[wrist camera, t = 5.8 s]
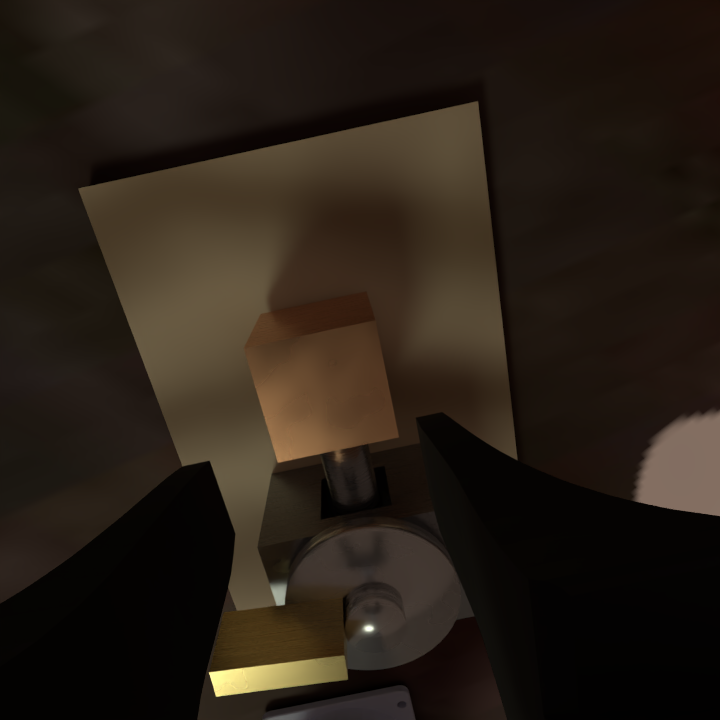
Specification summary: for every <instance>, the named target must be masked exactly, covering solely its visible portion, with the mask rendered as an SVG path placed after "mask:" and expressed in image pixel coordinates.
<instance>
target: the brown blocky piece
mask: <svg viewBox="0 0 720 720" xmlns="http://www.w3.org/2000/svg"><path fill="white" fill-rule="evenodd" d="M244 351H245V354H246V358H247V361H248V364H249V368H250V371H251V374H252V378H253V381H254V384H255V388H256V391H257V394H258V398H259V401H260V404H261V408H262V411H263V414H264V418H265V421H266V424H267V428H268V431H269V434H270V438H271V441H272V444H273V448H274V451H275V454H276V458H277V461H278V463H279V462H283V461H288V460H293V459H298V458H303V457H307V456H312V455H317V454H320V456H321V460H322V464H323V468H324V471H325V475H326V479H327V483H328V487H329V490H330V494H331V498H332V502H333V505H334V509H335V513H336V516H341V515H346V514H351V513H356V512H360V511H365V510H370V509H375V508H380V507H382V504H381V499H380V495H379V490H378V486H377V481H376V477H375V472H374V468H373V464H372V459H371V455H370V450H369V446H368V444H370V443H375V442H380V441H384V440H389V439H394V438H399V435H398V430H397V425H396V420H395V415H394V410H393V405H392V400H391V395H390V390H389V385H388V380H387V375H386V370H385V365H384V360H383V355H382V350H381V345H380V340H379V335H378V330H377V325H376V320H375V317H374V314H373V310H372V307H371V304H370V301H369V298H368V295H367V291H365V292H361V293H356V294H351V295H347V296H342V297H337V298H333V299H328V300H323V301H319V302H314V303H309V304H305V305H300V306H295V307H290V308H286V309H281V310H276V311H272V312H267V313H262V314H260V316H259V318H258V320H257V322H256V324H255V326H254V328H253V330H252V332H251V334H250V336H249V338H248V340H247V342H246V344H245V346H244Z"/></svg>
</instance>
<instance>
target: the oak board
mask: <svg viewBox="0 0 720 720" xmlns="http://www.w3.org/2000/svg"><path fill="white" fill-rule="evenodd" d="M79 192H80V195H81V197H82V200H83V203H84V205H85V208H86V211H87V213H88V216H89V219H90V221H91V224H92V227H93V229H94V232H95V235H96V237H97V240H98V243H99V245H100V248H101V251H102V253H103V256H104V259H105V261H106V264H107V267H108V269H109V272H110V274H111V277H112V280H113V282H114V285H115V288H116V290H117V293H118V296H119V298H120V301H121V304H122V306H123V309H124V312H125V314H126V317H127V320H128V322H129V325H130V328H131V330H132V333H133V336H134V338H135V341H136V344H137V346H138V349H139V352H140V354H141V357H142V360H143V362H144V365H145V367H146V370H147V373H148V375H149V378H150V381H151V383H152V386H153V389H154V391H155V394H156V397H157V399H158V402H159V405H160V407H161V410H162V413H163V415H164V418H165V421H166V423H167V426H168V429H169V431H170V434H171V437H172V439H173V442H174V445H175V447H176V450H177V453H178V455H179V458H180V461H181V463H182V466H186V465H191V464H196V463H200V462H205V461H210V463H211V466H212V468H213V471H214V474H215V477H216V480H217V483H218V485H219V488H220V491H221V494H222V497H223V500H224V502H225V505H226V508H227V511H228V514H229V517H230V519H231V522H232V525H233V528H234V531H235V534H236V535H235V545H234V556H233V564H232V572H231V577H230V581H229V586H228V588H229V591H230V593H231V596H232V599H233V601H234V604H235V607H236V609H237V611H239V610H247V609H255V608H263V607H269V606H274V605H277V604H276V601H275V598H274V595H273V593H272V590H271V587H270V584H269V581H268V578H267V575H266V572H265V569H264V566H263V563H262V560H261V557H260V554H259V551H258V548H257V546H258V541H259V536H260V531H261V525H262V520H263V515H264V510H265V505H266V500H267V495H268V489H269V484H270V479H271V474H273V473H278V472H283V471H287V470H292V469H297V468H302V467H307V466H311V465H316V464H321V463H322V460H321V456H320V454H317V455H312V456H307V457H303V458H298V459H293V460H288V461H283V462H279V463H278V461H277V458H276V454H275V451H274V448H273V444H272V441H271V438H270V434H269V431H268V428H267V424H266V421H265V418H264V414H263V411H262V408H261V404H260V401H259V398H258V394H257V391H256V388H255V384H254V381H253V378H252V374H251V371H250V368H249V364H248V361H247V358H246V354H245V351H244V346H245V344H246V342H247V340H248V338H249V336H250V334H251V332H252V330H253V328H254V326H255V324H256V322H257V320H258V318H259V316H260V314H262V313H267V312H272V311H276V310H281V309H286V308H290V307H295V306H300V305H305V304H309V303H314V302H319V301H323V300H328V299H333V298H337V297H342V296H347V295H351V294H356V293H361V292H365V291H367V295H368V298H369V301H370V304H371V307H372V310H373V314H374V317H375V320H376V325H377V330H378V335H379V340H380V345H381V350H382V355H383V360H384V365H385V370H386V375H387V380H388V385H389V390H390V395H391V400H392V405H393V410H394V415H395V420H396V425H397V430H398V435H399V438H394V439H389V440H384V441H380V442H375V443H370V444H368V446H369V450H370V453H374V452H379V451H384V450H388V449H393V448H398V447H403V446H408V445H413V444H417V443H420V440H419V434H418V429H417V424H416V417H421V416H426V415H430V414H435V413H440V412H443V413H444V414H446V415H447V416H449V417H450V418H452V419H453V420H454V421H456V422H457V423H458V424H460V425H461V426H462V427H464V428H465V429H467V430H468V431H470V432H471V433H472V434H474V435H475V436H477V437H478V438H480V439H481V440H483V441H484V442H486V443H488V444H489V445H491V446H492V447H494V448H496V449H497V450H499V451H501V452H503V453H504V454H506V455H508V456H510V457H512V458H514V459H516V460H517V451H516V442H515V432H514V423H513V414H512V405H511V396H510V387H509V378H508V369H507V360H506V351H505V342H504V333H503V324H502V314H501V305H500V296H499V287H498V278H497V269H496V260H495V251H494V242H493V233H492V224H491V215H490V206H489V196H488V187H487V178H486V169H485V160H484V151H483V142H482V133H481V124H480V115H479V106H478V101H477V102H472V103H468V104H463V105H458V106H454V107H449V108H445V109H440V110H436V111H431V112H426V113H422V114H417V115H413V116H408V117H404V118H399V119H394V120H390V121H385V122H381V123H376V124H372V125H367V126H362V127H358V128H353V129H349V130H344V131H340V132H335V133H330V134H326V135H321V136H317V137H312V138H308V139H303V140H298V141H294V142H289V143H285V144H280V145H276V146H271V147H266V148H262V149H257V150H253V151H248V152H243V153H239V154H234V155H230V156H225V157H221V158H216V159H211V160H207V161H202V162H198V163H193V164H189V165H184V166H179V167H175V168H170V169H166V170H161V171H157V172H152V173H147V174H143V175H138V176H134V177H129V178H125V179H120V180H115V181H111V182H106V183H102V184H97V185H93V186H88V187H83V188H79Z"/></svg>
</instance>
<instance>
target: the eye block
mask: <svg viewBox="0 0 720 720" xmlns="http://www.w3.org/2000/svg"><path fill="white" fill-rule="evenodd" d="M370 455H371V459H372V464H373V468H374V472H375V477H376V481H377V486H378V490H379V495H380V499H381V504H382V507H380V508H375V509H370V510H365V511H360V512H356V513H351V514H346V515H341V516H336V513H335V509H334V505H333V502H332V498H331V494H330V490H329V487H328V483H327V479H326V475H325V471H324V468H323V464H322V463H321V464H316V465H311V466H307V467H302V468H297V469H292V470H287V471H283V472H278V473H273V474H271V479H270V484H269V489H268V495H267V500H266V505H265V510H264V515H263V520H262V525H261V531H260V536H259V541H258V546H257V548H258V551H259V554H260V557H261V560H262V563H263V566H264V569H265V572H266V575H267V578H268V581H269V584H270V587H271V590H272V593H273V595H274V598H275V601H276V604H277V606H279V605H285V594H286V585H287V578H288V573H289V570H290V568H291V565H292V563H293V561H294V559H295V557H296V556H297V554H298V553H299V552H300V550H301V549H302V548H303V547H304V546H305V545H306V544H307V543H308V542H309V541H310V540H311V539H312V538H313V537H315V536H316V535H318V534H319V533H320V532H322V531H324V530H326V529H327V528H329V527H331V526H334V525H336V524H338V523H341V522H344V521H348V520H351V519H357V518H362V517H389V518H396V519H400V520H404V521H408V522H410V523H413V524H415V525H418V526H420V527H421V528H423V529H425V530H427V531H428V532H429V533H431V534H432V535H433V536H435V537H436V538H437V539H438V540H439V541H440V542H441V543H442V544H443V546H444V547H445V549H446V550H447V548H446V545H445V543H444V540H443V538H442V535H441V533H440V530H439V526H438V523H437V519H436V516H435V512H434V509H433V505H432V501H431V498H430V494H429V489H428V483H427V478H426V472H425V467H424V461H423V456H422V451H421V445H420V443H417V444H413V445H408V446H403V447H398V448H393V449H388V450H384V451H379V452H374V453H370ZM447 551H448V550H447ZM454 568H455V567H454ZM455 572H456V570H455ZM456 575H457V572H456ZM457 578H458V581H459V584H460V591H461V604H460V609H459V613H458V616H457V618H456V620H458V619H463V618H468V617H473V616H474V613H473V611H472V608H471V606H470V604H469V601H468V599H467V596H466V594H465V592H464V589H463V587H462V584H461V582H460V579H459V577H458V575H457Z"/></svg>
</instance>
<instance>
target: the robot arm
mask: <svg viewBox="0 0 720 720" xmlns="http://www.w3.org/2000/svg"><path fill="white" fill-rule="evenodd" d="M416 424H417V429H418V434H419V440H420V445H421V451H422V456H423V461H424V467H425V472H426V478H427V483H428V489H429V494H430V498H431V501H432V505H433V509H434V512H435V516H436V519H437V523H438V526H439V530H440V533H441V535H442V538H443V540H444V543H445V545H446V548H447V550H448V553H449V555H450V558H451V560H452V562H453V565H454V567H455V570H456V572H457V575H458V577H459V579H460V582H461V584H462V587H463V589H464V592H465V594H466V596H467V599H468V601H469V604H470V606H471V608H472V611H473V613H474V616H475V618H476V621H477V624H478V626H479V629H480V632H481V635H482V637H483V640H484V644H485V647H486V650H487V654H488V657H489V660H490V663H491V667H492V670H493V673H494V677H495V680H496V683H497V686H498V690H499V693H500V696H501V700H502V703H503V707H504V710H505V713H506V717H507V720H720V516H715V515H708V514H701V513H694V512H686V511H680V510H673V509H667V508H662V507H658V506H653V505H648V504H644V503H639V502H634V501H630V500H626V499H622V498H618V497H614V496H610V495H607V494H603V493H600V492H597V491H594V490H590V489H587V488H584V487H581V486H577V485H575V484H572V483H569V482H566V481H563V480H561V479H558V478H556V477H553V476H551V475H548V474H546V473H544V472H541V471H539V470H536V469H534V468H532V467H530V466H528V465H526V464H523V463H521V462H520V461H518V460H516V459H514V458H512V457H510V456H508V455H506V454H504V453H503V452H501V451H499V450H497V449H496V448H494V447H492V446H491V445H489V444H488V443H486V442H484V441H483V440H481V439H480V438H478V437H477V436H475V435H474V434H472V433H471V432H470V431H468V430H467V429H465V428H464V427H462V426H461V425H460V424H458V423H457V422H456V421H454V420H453V419H452V418H450V417H449V416H447V415H446V414H444V413H443V412H440V413H435V414H430V415H426V416H421V417H416ZM235 535H236V534H235V531H234V528H233V525H232V522H231V519H230V517H229V514H228V511H227V508H226V505H225V502H224V500H223V497H222V494H221V491H220V488H219V485H218V483H217V480H216V477H215V474H214V471H213V468H212V466H211V463H210V461H205V462H200V463H196V464H191V465H186V466H183V467H181V468H180V469H178V470H177V471H175V472H174V473H173V474H171V475H170V476H169V477H168V478H166V479H165V480H164V481H163V482H162V483H160V484H159V485H158V486H157V487H156V488H154V489H153V490H152V491H151V492H150V493H149V494H148V495H146V496H145V497H144V498H143V499H142V500H141V501H139V502H138V503H137V504H136V505H135V506H134V507H132V508H131V509H130V510H129V511H128V512H127V513H125V514H124V515H123V516H122V517H121V518H119V519H118V520H117V521H116V522H115V523H113V524H112V525H111V526H110V527H108V528H107V529H106V530H105V531H103V532H102V533H101V534H100V535H98V536H97V537H96V538H95V539H93V540H92V541H91V542H90V543H88V544H87V545H86V546H85V547H83V548H82V549H81V550H80V551H78V552H77V553H76V554H74V555H73V556H72V557H70V558H69V559H67V560H66V561H65V562H63V563H62V564H61V565H59V566H58V567H56V568H55V569H53V570H52V571H51V572H49V573H48V574H46V575H45V576H43V577H42V578H40V579H39V580H37V581H36V582H34V583H33V584H31V585H30V586H28V587H27V588H25V589H24V590H22V591H21V592H19V593H17V594H16V595H14V596H12V597H11V598H9V599H7V600H6V601H4V602H2V603H1V604H0V720H197V717H198V711H199V704H200V698H201V693H202V688H203V684H204V679H205V674H206V670H207V666H208V663H209V659H210V655H211V651H212V647H213V644H214V640H215V636H216V632H217V628H218V624H219V621H220V617H221V613H222V609H223V605H224V601H225V597H226V593H227V589H228V586H229V581H230V577H231V572H232V564H233V556H234V545H235ZM263 720H416V719H415V715H414V710H413V706H412V702H411V698H410V694H409V690H408V688H407V687H405V686H403V685H397V686H392V687H387V688H382V689H377V690H372V691H367V692H362V693H357V694H352V695H347V696H342V697H337V698H332V699H327V700H322V701H317V702H312V703H307V704H302V705H297V706H292V707H287V708H282V709H277V710H272V711H268V712H266V713H265V714H264V716H263Z"/></svg>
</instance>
